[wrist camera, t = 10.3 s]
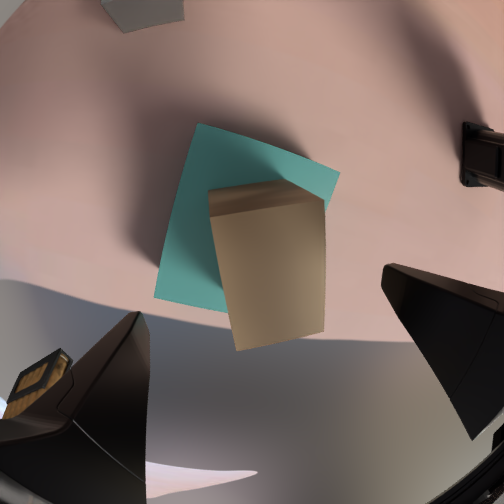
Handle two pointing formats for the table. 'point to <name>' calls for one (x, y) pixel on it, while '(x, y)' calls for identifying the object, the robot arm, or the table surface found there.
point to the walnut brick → (270, 260)
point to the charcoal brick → (143, 12)
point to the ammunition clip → (36, 381)
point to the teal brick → (197, 207)
